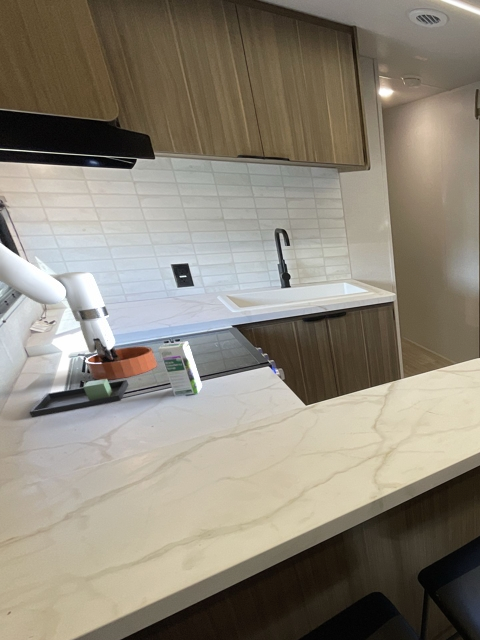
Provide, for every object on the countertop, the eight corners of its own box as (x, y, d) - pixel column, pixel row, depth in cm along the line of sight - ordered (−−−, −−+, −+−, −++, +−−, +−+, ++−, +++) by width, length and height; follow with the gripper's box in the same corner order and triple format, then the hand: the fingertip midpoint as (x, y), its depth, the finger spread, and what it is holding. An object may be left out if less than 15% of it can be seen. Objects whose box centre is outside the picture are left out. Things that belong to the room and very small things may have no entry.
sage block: (89, 400, 110) (83, 387, 109) (92, 395, 114) (86, 381, 112) (109, 397, 113) (103, 383, 111) (112, 391, 116) (106, 378, 114)
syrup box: (174, 397, 113) (157, 348, 108) (179, 389, 118) (163, 342, 113) (198, 393, 115) (182, 345, 110) (202, 386, 120) (188, 340, 115)
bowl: (87, 385, 121) (78, 367, 119) (99, 369, 134) (91, 352, 131) (155, 374, 129) (148, 356, 127) (160, 359, 142) (154, 343, 140)
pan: (32, 419, 102) (29, 412, 101) (49, 400, 112) (46, 393, 112) (121, 402, 111) (118, 395, 110) (129, 385, 121) (126, 379, 120)
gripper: (81, 310, 127) (104, 363, 134) (66, 321, 114) (92, 380, 121) (112, 307, 131) (133, 359, 138) (101, 317, 118) (124, 374, 125)
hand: (113, 368), depth 130 cm, fingers closed on walnut block, 4 cm apart
